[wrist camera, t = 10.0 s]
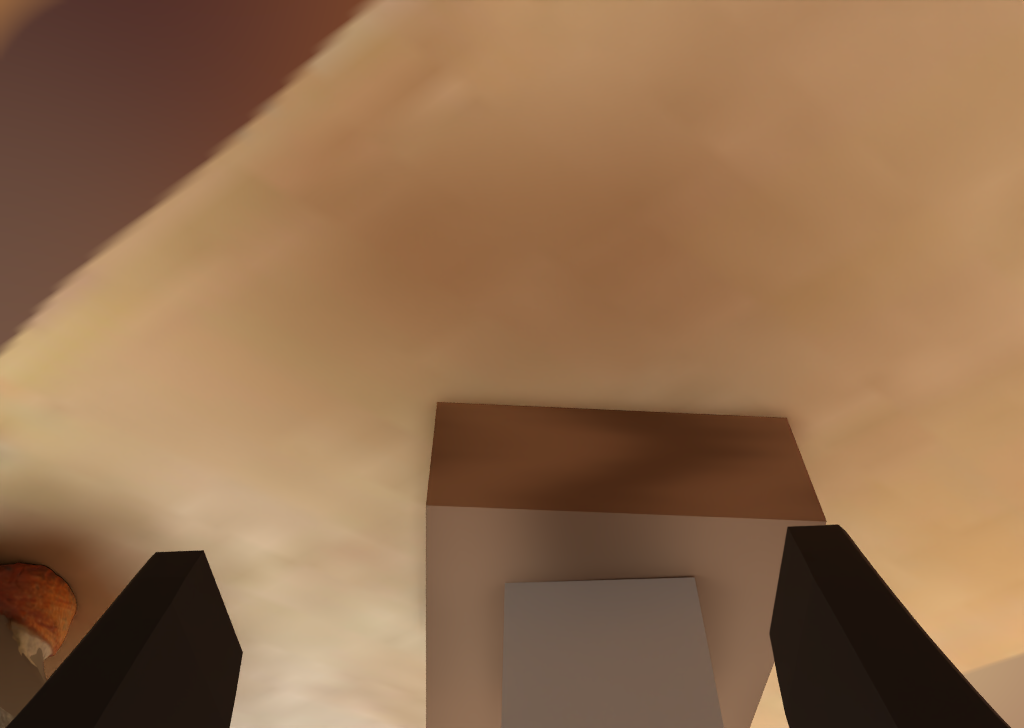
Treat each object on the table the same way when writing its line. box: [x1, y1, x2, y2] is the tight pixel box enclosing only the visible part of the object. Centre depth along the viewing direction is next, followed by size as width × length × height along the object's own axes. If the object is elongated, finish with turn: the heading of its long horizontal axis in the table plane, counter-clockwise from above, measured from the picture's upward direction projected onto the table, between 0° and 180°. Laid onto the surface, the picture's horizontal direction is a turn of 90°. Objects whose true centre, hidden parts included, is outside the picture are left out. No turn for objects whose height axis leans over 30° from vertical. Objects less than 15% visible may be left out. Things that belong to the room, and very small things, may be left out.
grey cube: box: [501, 577, 724, 728], centre depth 21 cm, size 4×4×4 cm
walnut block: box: [426, 402, 827, 728], centre depth 24 cm, size 9×9×4 cm
